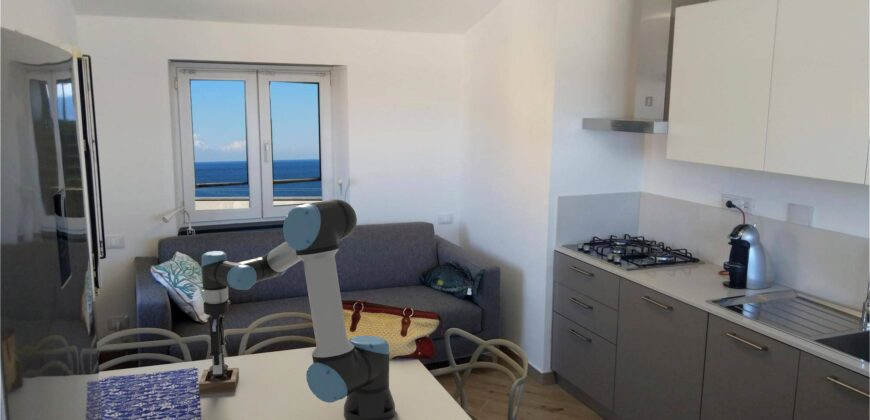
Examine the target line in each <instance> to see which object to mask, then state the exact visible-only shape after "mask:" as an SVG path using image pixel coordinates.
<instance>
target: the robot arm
mask: <svg viewBox="0 0 870 420" xmlns="http://www.w3.org/2000/svg"><path fill="white" fill-rule="evenodd" d="M287 213H288V214H287V215H286V216H285V218H284V220H283V227H282V232H283V237H284V240H285V241H284V242H282V243H281V244H280V245H278V246H276V247H275V248H273V249H272V250H270V251H268V252H267V253H266V254H264V255H262V256H257V257H256V258H255V257H254V258H252V259H247V260H243V261H238V262H233V261H228V258H227V257H228V256H227V253H226V252H224V251H222V250H212V251H207V252H205V253H203V254H202V255H201V265H200V268H201V279H202V280H201V281H202V282H201V283H202V290H201V291H200V293H201V295H202V294H203V295H202V296H203V299H202V300H203V304H202V305H203V313H204V314H205V315H207V316H210V319H209V322H208V323H209V331H210V332H209V333H210V336H209V337H210V353H209V356H211V357H212V359H211V360H212V361H211V362H212V364H211V365H213V374H222V357H221V350H220V345H221V346H222V347H223V355H224V357H223V362H224V364H226V363H225V361H226V360H225V346H227V342H226V341H225V340H226V339H225V327H224V320H225V317H224V314H226V313H228V312H229V308H230V307H229V288H232V289H235V290H238V291H239V290H242V291H248V290H250V289H251V288H252V287H253V286H254V285H255V284H256V283H259V282H262V281H265V280H269V279H275V278H278V277H280V276H282V275H284V274H286V272H287V270H288V269H289V268H290V267H293V266H294V265H295V264H297V263H299V262H301V261H302V263H303V269H304V276H305V282H306V287H307V288H306V289H307V294H308V303H309V307H310V312H311V313H310V314H311V319H312V326H313V332H314V339H315V344H316V347H315V348H314V349H313V351H312V352H311V355H312V356H311V357H312V364H310V366H309V367H308V369H307V371H306V375H305V377H306V383H307V385H308V386H307V387H308V388H309V390H310V391H311V392H312V394H313V395H314V396H315V397H316V398H318V400H319V401H322V402H325V403H332V404H333V403H334V402H337V401H339V400H344V399H345V398H346V399H345V402H344V405H343V417H344V418H345V419H346V420H391V419H393V418H394V416H395V413H396V404H395V401H394V397H393V395H392V392H391V388H390V355H391V352H390V345H389V343H388V341H387V340H386V339H384V338H382V337H379V336H375V335H374V336H373V335H356V336H353V337H351V338H350V339H349V340H348V336H347V335H348V334H347V329H346V328H347V327H346V323H345V316H344V309H343V301H342V296H341V289H340V283H339V276H338V269H337V263H336V254H337V252H339V250H340V245H339V242H341V241H342V240H344V239H346V238H347V237H349V236H351V235H352V234H353V233H354V231H355V229H356V228H357V224H358V223H357V222H358V221H357V220H358V218H357V214H356V211H355V209H354V208H353V206H352V205H351V204H350V203H348V202H347V201H344V200H341V199H328V200H320V201H315V202H307V203H304V204H301V205H297V206H295V207H293V208H292V209H290V210H289V211H288V212H287Z"/></svg>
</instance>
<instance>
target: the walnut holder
mask: <svg viewBox="0 0 870 420" xmlns="http://www.w3.org/2000/svg"><path fill="white" fill-rule="evenodd" d="M239 369H240V368H239V367H228V368H227V372H226V373H225V374H226V375H227V376H228V378H227V379H225V380H220V381H212V380H211V377H212V376H213V375H212V374H211V372H210V370H209V368H208V369H203V370H202V371H203V372H202V374H201V377H200V380H199V382H198V395H200V394H217V393H227V392H228V393H231V392H232V393H233V392H236V390H237V386H238V382H239V378H240V371H239Z"/></svg>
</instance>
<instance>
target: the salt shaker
mask: <svg viewBox="0 0 870 420" xmlns="http://www.w3.org/2000/svg"><path fill="white" fill-rule="evenodd" d="M222 346H223V345H222ZM222 346H221V345H220V350H221V357H222V374H213V364H211V366H209V368H208V369H209V370H210V372H211V374H212V375H213V376H212V377H211V380H212V381H220V380H225V379H227V378H228V376H227V375H226V374H225V373H226V372H227V368H229V365H228V364H227V363H225V364H224V362H223V357H224V358H225V354H224V355H223V347H222Z"/></svg>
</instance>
